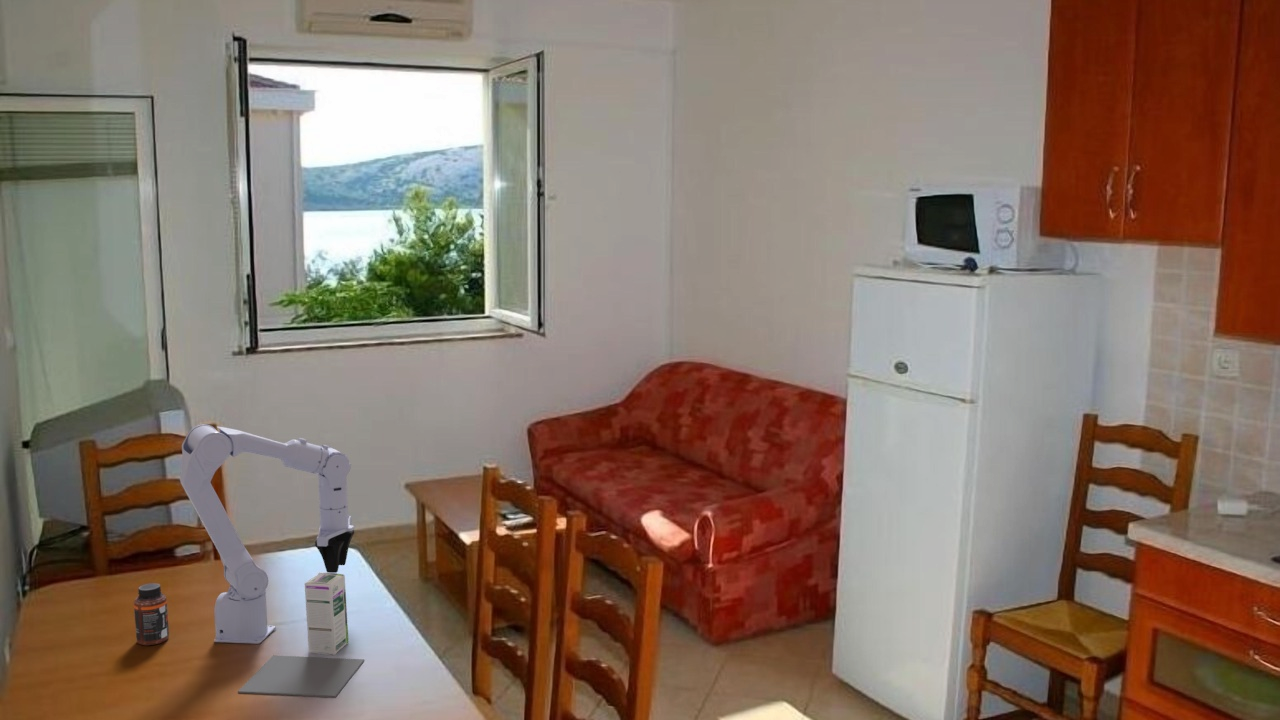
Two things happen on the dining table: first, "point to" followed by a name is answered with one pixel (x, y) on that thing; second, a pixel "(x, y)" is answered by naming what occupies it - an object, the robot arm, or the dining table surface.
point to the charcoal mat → (302, 676)
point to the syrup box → (326, 613)
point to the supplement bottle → (151, 615)
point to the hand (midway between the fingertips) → (336, 568)
